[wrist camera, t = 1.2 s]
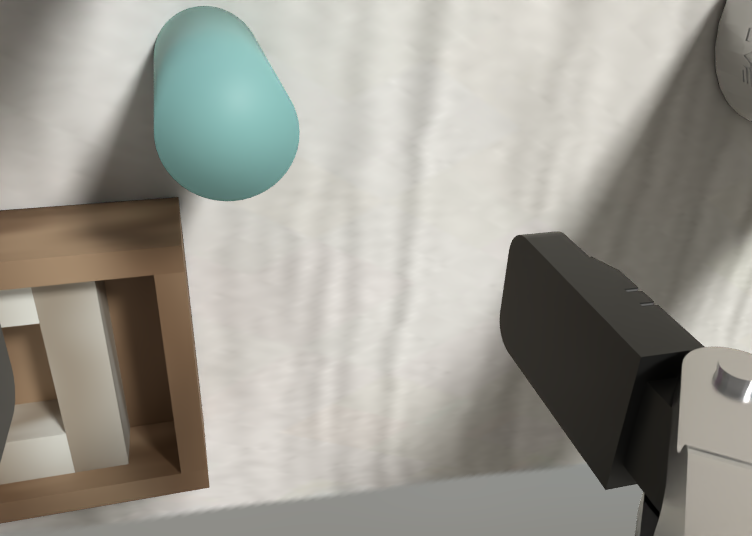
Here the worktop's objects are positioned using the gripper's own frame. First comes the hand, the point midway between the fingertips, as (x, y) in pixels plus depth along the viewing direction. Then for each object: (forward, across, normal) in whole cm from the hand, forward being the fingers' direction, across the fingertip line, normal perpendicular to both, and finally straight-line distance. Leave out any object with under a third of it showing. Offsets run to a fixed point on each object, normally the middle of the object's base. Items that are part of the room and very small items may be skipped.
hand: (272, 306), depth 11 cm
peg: (+16, 0, 0) cm, 16 cm away
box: (+16, +9, +10) cm, 21 cm away
